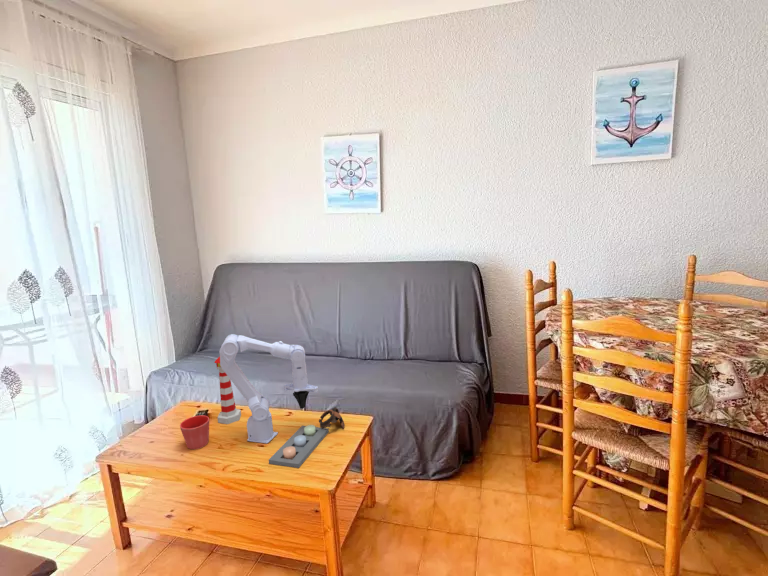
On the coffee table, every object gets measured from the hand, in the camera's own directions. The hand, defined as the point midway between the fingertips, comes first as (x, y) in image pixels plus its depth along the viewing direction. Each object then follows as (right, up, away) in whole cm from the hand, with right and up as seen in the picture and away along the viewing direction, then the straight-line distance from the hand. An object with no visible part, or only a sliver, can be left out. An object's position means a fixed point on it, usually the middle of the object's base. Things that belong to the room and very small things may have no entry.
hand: (302, 407), depth 168 cm
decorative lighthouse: (-36, -10, +16) cm, 41 cm away
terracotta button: (-1, -13, -17) cm, 22 cm away
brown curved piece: (+12, -9, +4) cm, 16 cm away
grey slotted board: (+1, -12, -10) cm, 16 cm away
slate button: (+1, -12, -10) cm, 15 cm away
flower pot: (-41, -14, -4) cm, 43 cm away
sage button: (+3, -10, -2) cm, 11 cm away
